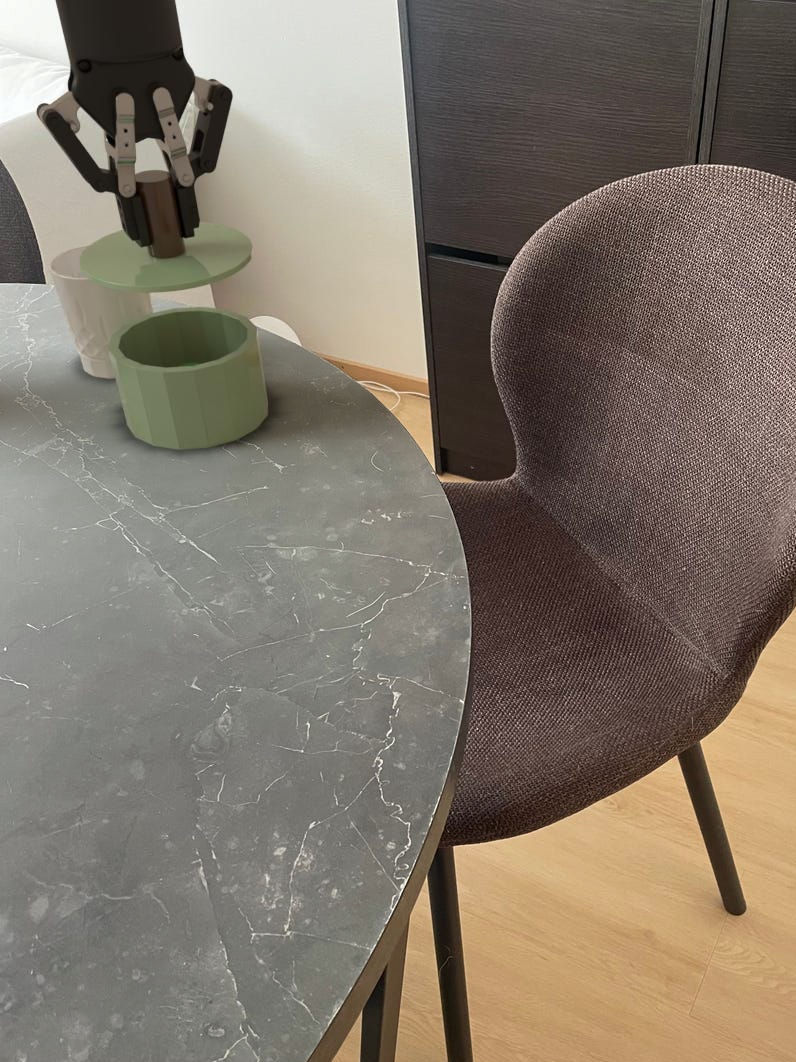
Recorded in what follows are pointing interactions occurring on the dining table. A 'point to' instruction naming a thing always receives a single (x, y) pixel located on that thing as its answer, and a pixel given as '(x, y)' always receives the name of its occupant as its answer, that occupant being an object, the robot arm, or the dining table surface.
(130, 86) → the robot arm
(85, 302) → the white cup
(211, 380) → the pot
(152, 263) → the lid
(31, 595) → the dining table surface
